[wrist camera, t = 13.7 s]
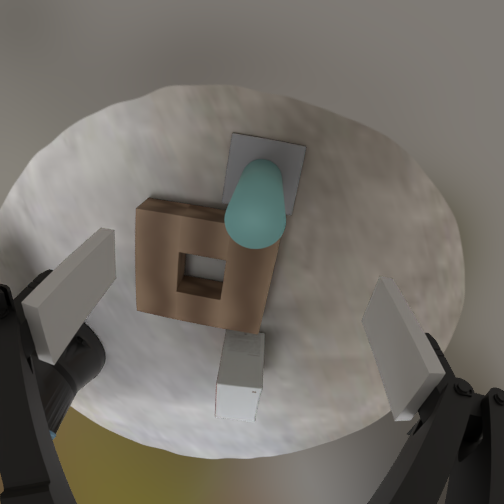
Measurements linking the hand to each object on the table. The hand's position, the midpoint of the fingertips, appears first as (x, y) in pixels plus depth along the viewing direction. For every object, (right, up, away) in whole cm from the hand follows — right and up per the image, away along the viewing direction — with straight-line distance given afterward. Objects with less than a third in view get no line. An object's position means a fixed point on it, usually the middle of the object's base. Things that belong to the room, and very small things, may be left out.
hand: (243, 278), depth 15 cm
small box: (-1, -13, +32) cm, 34 cm away
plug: (+1, +9, +20) cm, 22 cm away
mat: (+2, +10, +20) cm, 22 cm away
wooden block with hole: (-5, 0, +25) cm, 26 cm away
